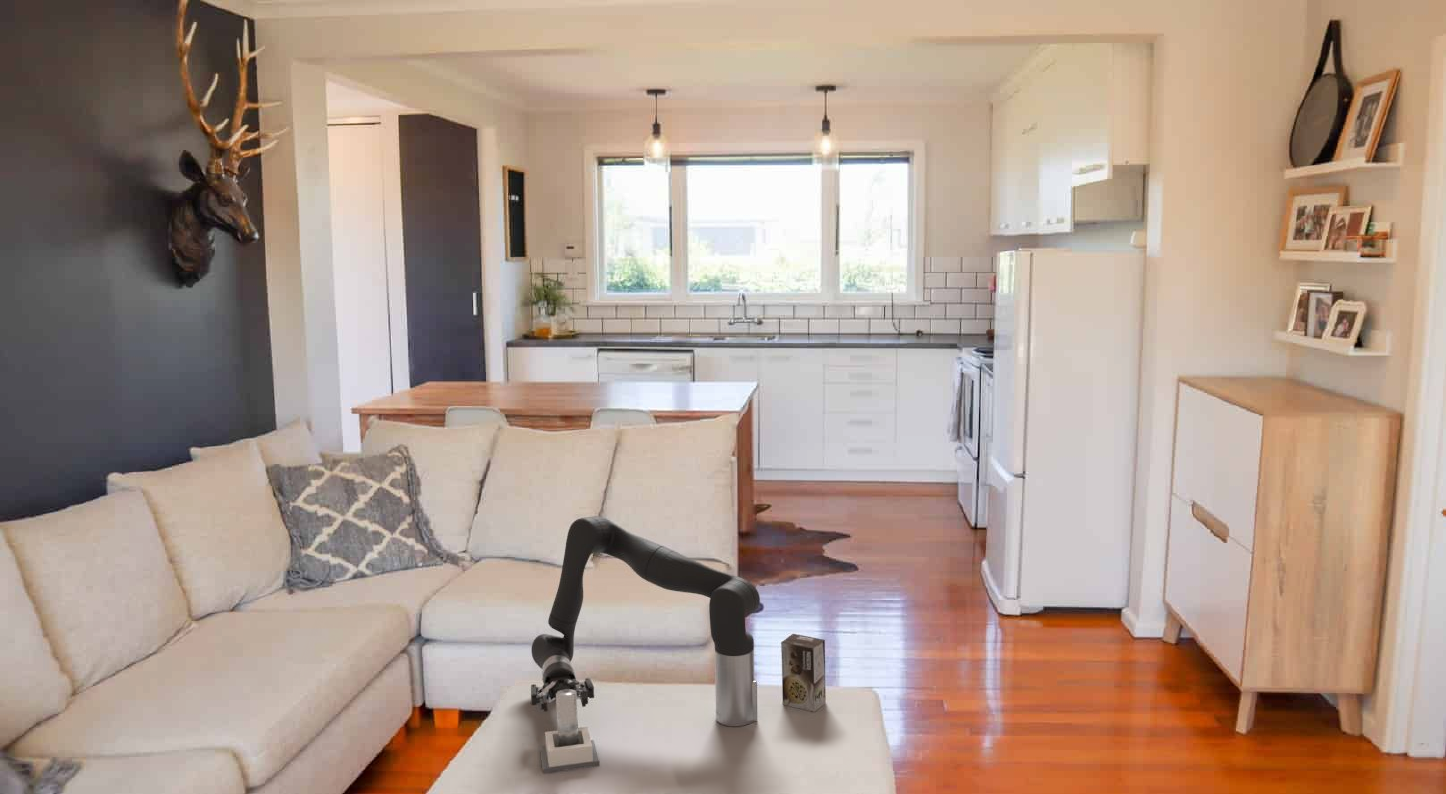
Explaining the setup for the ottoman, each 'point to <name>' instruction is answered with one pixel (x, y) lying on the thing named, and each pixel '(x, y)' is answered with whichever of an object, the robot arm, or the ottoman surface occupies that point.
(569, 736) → the silver metal cylinder
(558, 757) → the dock
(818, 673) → the cookie box
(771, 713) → the ottoman surface
